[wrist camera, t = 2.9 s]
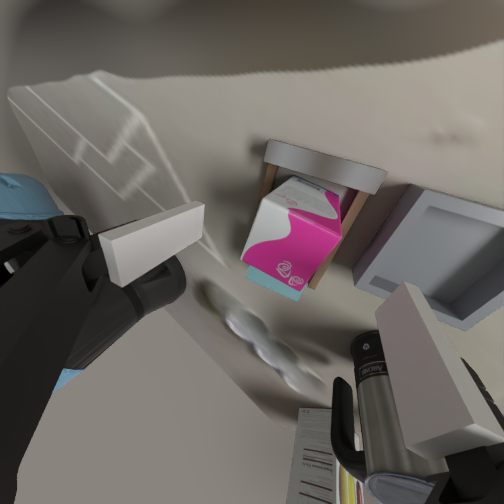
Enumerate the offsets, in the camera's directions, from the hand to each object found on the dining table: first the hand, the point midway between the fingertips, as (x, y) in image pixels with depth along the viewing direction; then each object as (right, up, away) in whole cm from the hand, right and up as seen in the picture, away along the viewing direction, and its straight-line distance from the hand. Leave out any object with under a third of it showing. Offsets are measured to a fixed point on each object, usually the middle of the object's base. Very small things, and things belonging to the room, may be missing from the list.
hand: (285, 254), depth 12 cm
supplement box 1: (+4, +6, +10) cm, 13 cm away
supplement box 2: (+15, -38, +29) cm, 50 cm away
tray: (+17, 0, +7) cm, 18 cm away
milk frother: (+20, -18, +16) cm, 31 cm away
